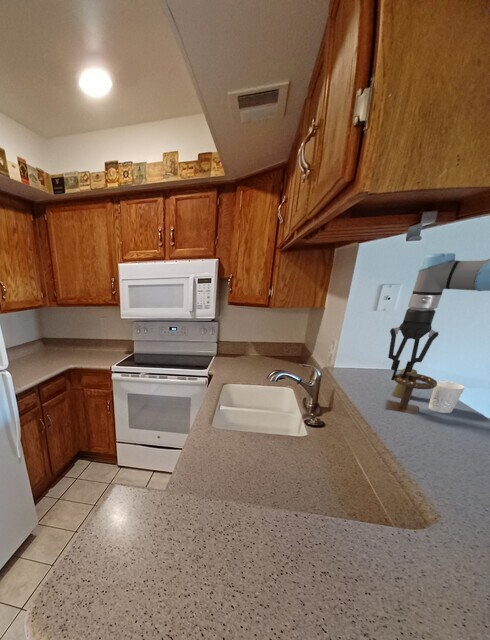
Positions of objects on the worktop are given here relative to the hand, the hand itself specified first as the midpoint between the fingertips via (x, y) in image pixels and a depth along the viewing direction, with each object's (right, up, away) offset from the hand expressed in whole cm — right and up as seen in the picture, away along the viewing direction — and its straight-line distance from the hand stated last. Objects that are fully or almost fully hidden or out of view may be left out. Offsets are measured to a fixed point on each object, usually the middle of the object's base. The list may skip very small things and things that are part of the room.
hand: (397, 379), depth 114 cm
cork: (+13, -4, +16) cm, 21 cm away
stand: (+4, -11, +3) cm, 12 cm away
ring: (+4, -1, -3) cm, 5 cm away
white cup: (+17, -11, +3) cm, 20 cm away
